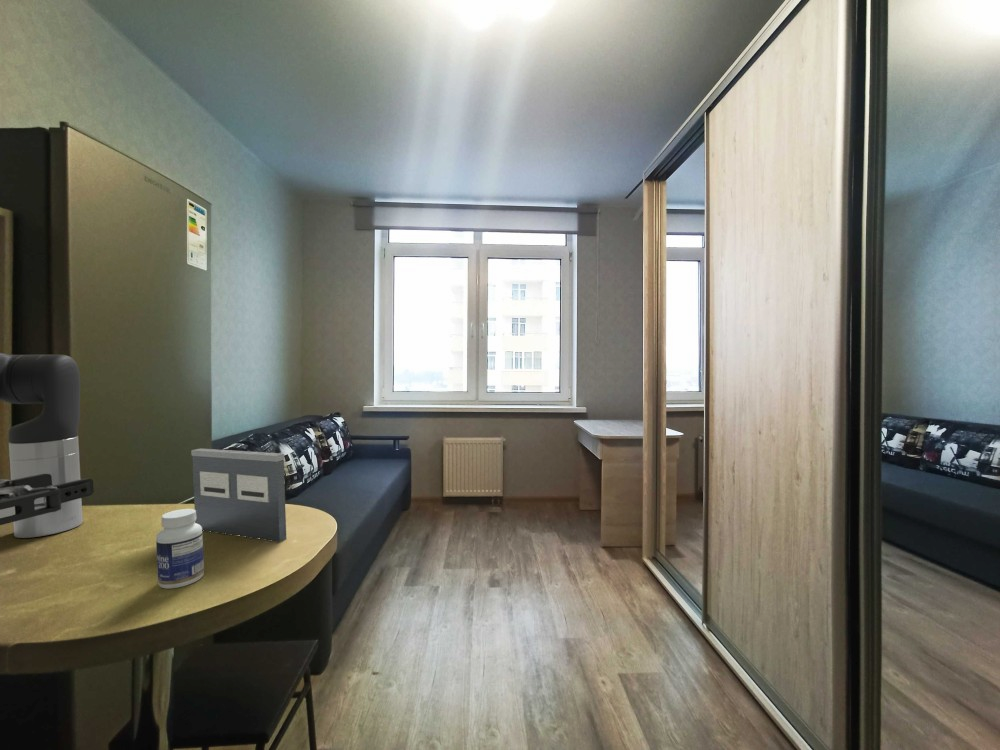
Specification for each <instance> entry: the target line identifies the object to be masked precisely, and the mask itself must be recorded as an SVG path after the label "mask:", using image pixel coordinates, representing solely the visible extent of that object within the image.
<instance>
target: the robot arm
mask: <svg viewBox="0 0 1000 750" xmlns="http://www.w3.org/2000/svg"><path fill="white" fill-rule="evenodd" d="M0 401H2V402H5V403H8V404H14V405H34V404H36V405H37V404H43V406H42V411H41V413H40V414H39V415H38V416H36V417H34V418H32V419H31V420H28V421H25V422H22V423H18V424H15V425H13V426H11V427H10V428H9V429H8V432H7V433H8V435H7V436H8V453H9V466H10V468H9V469H10V479H5V478H3V479H0V526H3V525H6V524H7V525H8V524H11V523H13V524H12V525H13V536H14V537H15V538H19V539H20V538H21V539H27V538H28V539H29V538H36V537H37V538H39V537H43V536H49V535H54V534H59V533H62V532H65V531H68V530H72V529H74V528H77V527H79V526H81V525H82V524H83V507H82V505H83V504H82V503H83V502H82V501H83V500H82V498H86V497H91V496H92V495H93V494H94V492H95V488H94V487H95V486H94V480H93V479H92V478H86V477H85V478H81V465H80V447H79V445H80V444H79V426H80V420H81V373H80V368H79V366H78V364H77V361H75V359H73V357H71V356H69V355H66V354H8V353H3V352H0Z"/></svg>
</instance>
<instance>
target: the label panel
mask: <svg viewBox="0 0 1000 750" xmlns="http://www.w3.org/2000/svg"><path fill="white" fill-rule="evenodd" d="M190 453H191V454H190V455H191V457H192V479H193V482H192V483H193V501H194V502H193V504H194V510H196V517H197V518H196V521H195V522H194V523H197V524H199V525H200V526H201V527H202V530H204V531H203V532H206V531H211V532H210V533H213V532H218V533H217V534H220V533H224V534H223V535H227V534H232V535H231V536H234V535H240V536H239V537H241V536H246V537H245V538H247V537H252V538H251V539H254V538H260V539H259V540H261V539H266V540H265V541H268V540H272V541H271V542H275V541H278V542H277V543H281V542H283V541H285V540H287V516H286V515H287V514H286V513H287V512H286V487H285V483H286V482H285V463H284V461H285V453H282V452H281V453H278V452H266V451H265V452H263V451H262V452H261V451H245V450H234V449H233V450H232V449H231V450H230V449H214V448H197V449H191V452H190ZM225 533H226V534H225Z"/></svg>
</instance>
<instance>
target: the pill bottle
mask: <svg viewBox="0 0 1000 750" xmlns="http://www.w3.org/2000/svg"><path fill="white" fill-rule="evenodd" d="M196 518H197V517H196V510H195V508H182V509H181V508H180V509H175V510H172V511H169V512H168V511H167V512H166V513H163V514H162V515H161V527H162V528H163V529H160V531H158V532H157V534H156V537H155V538H156V539H155V543H156V567H157V582H158V586H159V587H160V588H163V589H167V590H169V589H178V588H182V587H185V586H188V585H191V584H193V583H196V582H198V581H199V580H200V579H201V578H202V577H203V576H204V574H205V572H204V571H205V563H204V562H205V560H204V541H203V540H204V537H203V536H204V535H203V532H204V531H202V527H201V526H200V525H199V524H197V523H195V521H196Z"/></svg>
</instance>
